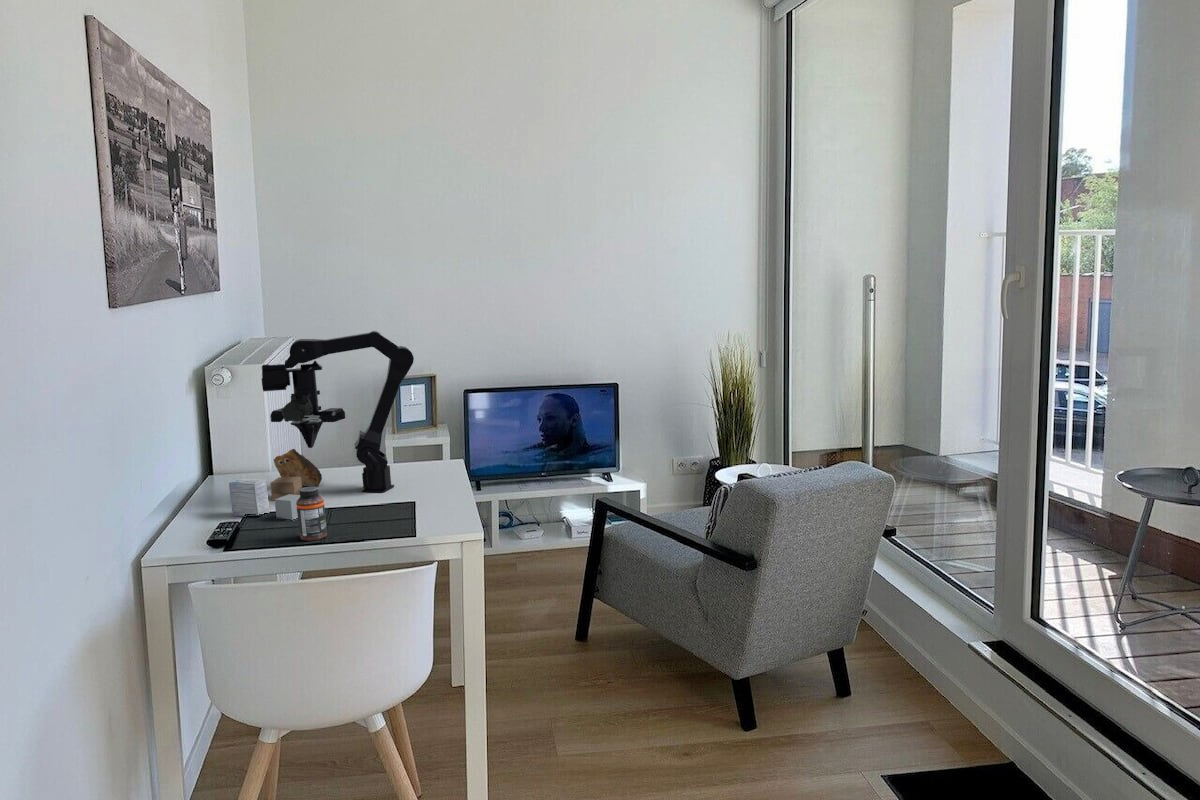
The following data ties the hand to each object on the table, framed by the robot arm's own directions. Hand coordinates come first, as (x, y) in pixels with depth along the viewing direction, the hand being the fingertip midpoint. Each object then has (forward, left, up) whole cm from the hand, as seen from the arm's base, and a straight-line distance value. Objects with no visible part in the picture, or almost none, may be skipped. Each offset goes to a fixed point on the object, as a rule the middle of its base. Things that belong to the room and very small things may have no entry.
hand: (310, 447), depth 255 cm
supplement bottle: (-20, +34, -13) cm, 42 cm away
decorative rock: (+11, -10, -13) cm, 20 cm away
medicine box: (+7, +18, -13) cm, 23 cm away
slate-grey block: (-5, +19, -13) cm, 24 cm away
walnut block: (+7, +2, -13) cm, 15 cm away
